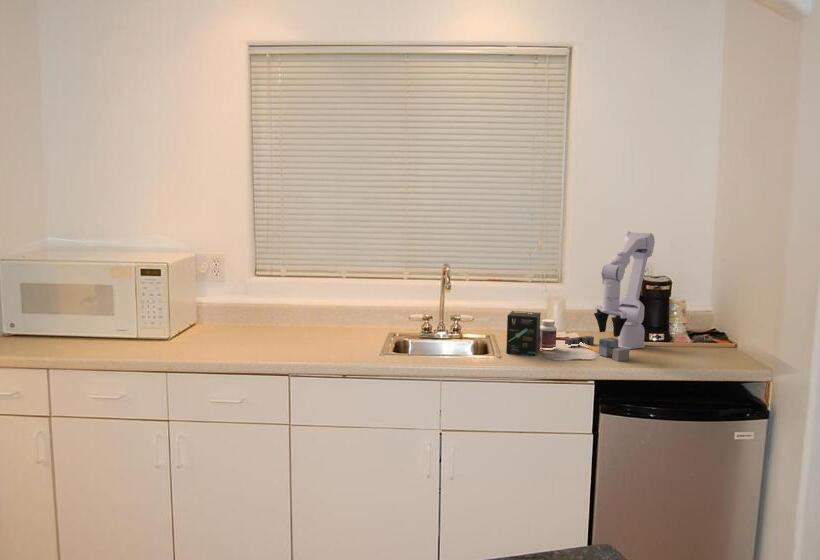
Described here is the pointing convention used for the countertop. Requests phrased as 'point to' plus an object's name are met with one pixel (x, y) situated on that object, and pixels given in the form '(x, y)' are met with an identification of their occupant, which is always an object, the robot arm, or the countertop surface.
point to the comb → (580, 340)
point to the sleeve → (607, 346)
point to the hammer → (615, 353)
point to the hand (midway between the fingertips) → (609, 334)
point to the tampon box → (523, 333)
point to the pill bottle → (547, 334)
